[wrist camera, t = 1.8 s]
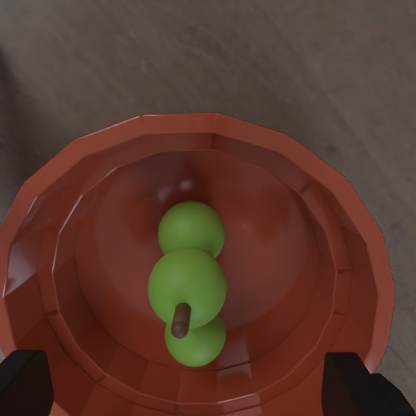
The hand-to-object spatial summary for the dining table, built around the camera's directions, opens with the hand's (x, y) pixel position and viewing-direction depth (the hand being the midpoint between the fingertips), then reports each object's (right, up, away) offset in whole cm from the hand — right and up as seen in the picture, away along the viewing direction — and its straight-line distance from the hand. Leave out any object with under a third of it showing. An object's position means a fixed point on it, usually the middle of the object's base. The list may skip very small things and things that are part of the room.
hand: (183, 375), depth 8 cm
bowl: (0, +2, +6) cm, 7 cm away
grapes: (0, +2, +6) cm, 6 cm away
